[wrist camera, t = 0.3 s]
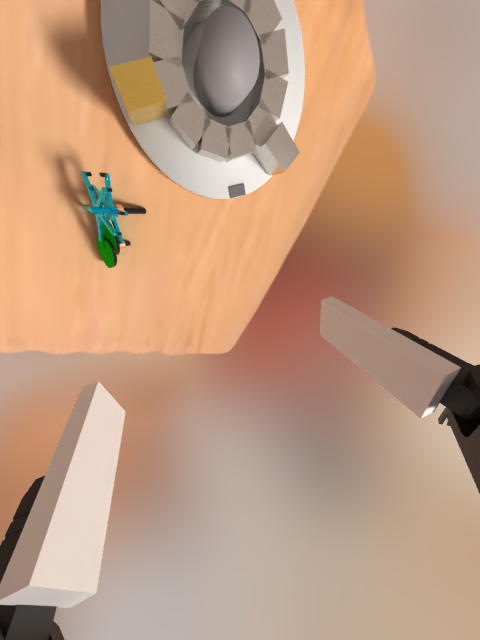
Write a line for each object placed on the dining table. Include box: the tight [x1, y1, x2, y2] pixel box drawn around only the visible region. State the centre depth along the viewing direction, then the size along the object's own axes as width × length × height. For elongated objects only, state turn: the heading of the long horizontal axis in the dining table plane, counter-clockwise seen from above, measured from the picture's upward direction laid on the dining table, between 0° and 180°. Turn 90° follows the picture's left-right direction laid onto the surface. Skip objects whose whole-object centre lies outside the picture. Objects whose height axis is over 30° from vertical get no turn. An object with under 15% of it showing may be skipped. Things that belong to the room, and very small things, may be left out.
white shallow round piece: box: [101, 0, 305, 199], centre depth 23 cm, size 24×24×7 cm
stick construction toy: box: [81, 171, 146, 268], centre depth 28 cm, size 12×7×8 cm
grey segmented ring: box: [109, 0, 300, 176], centre depth 22 cm, size 21×19×4 cm
